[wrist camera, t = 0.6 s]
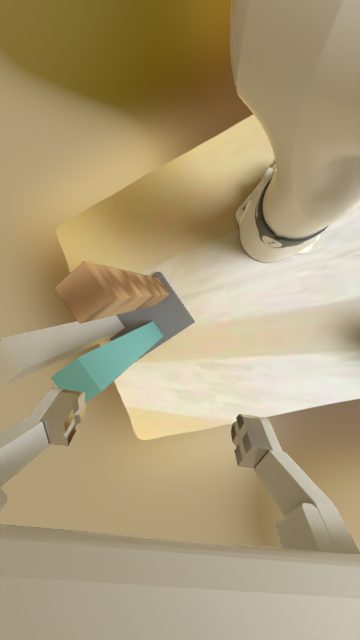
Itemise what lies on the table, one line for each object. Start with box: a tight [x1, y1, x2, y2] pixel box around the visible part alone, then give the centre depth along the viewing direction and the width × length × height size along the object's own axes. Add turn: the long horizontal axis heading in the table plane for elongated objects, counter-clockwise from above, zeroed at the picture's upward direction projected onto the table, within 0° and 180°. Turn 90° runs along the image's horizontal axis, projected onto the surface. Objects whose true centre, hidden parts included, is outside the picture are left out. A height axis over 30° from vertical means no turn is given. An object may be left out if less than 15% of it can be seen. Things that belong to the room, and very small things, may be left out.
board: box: [110, 272, 195, 361], centre depth 51 cm, size 16×23×2 cm
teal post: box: [51, 321, 163, 402], centre depth 36 cm, size 5×5×28 cm
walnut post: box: [55, 261, 170, 324], centre depth 34 cm, size 5×5×28 cm
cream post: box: [0, 315, 125, 387], centre depth 38 cm, size 5×5×28 cm
